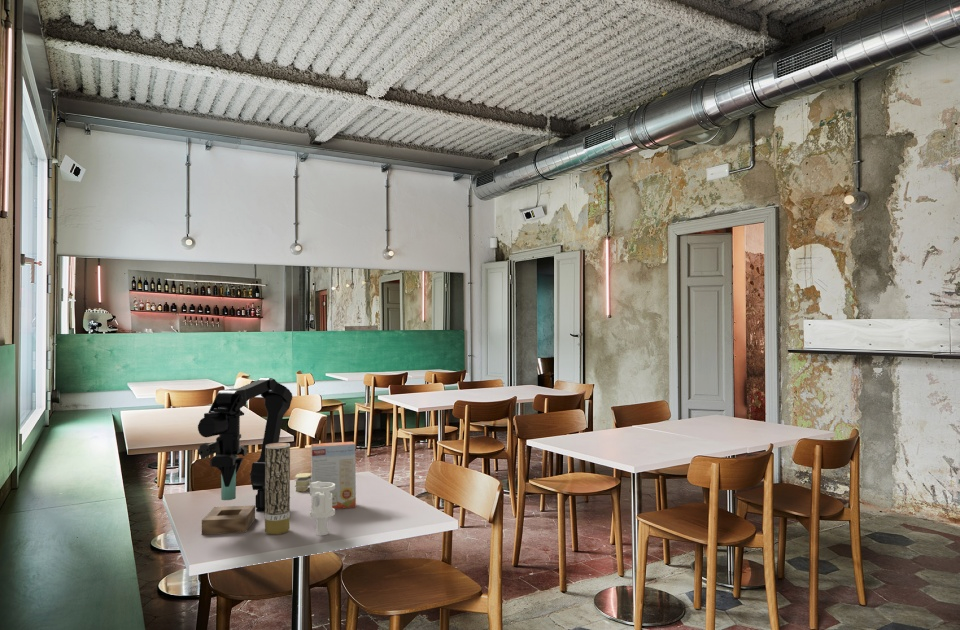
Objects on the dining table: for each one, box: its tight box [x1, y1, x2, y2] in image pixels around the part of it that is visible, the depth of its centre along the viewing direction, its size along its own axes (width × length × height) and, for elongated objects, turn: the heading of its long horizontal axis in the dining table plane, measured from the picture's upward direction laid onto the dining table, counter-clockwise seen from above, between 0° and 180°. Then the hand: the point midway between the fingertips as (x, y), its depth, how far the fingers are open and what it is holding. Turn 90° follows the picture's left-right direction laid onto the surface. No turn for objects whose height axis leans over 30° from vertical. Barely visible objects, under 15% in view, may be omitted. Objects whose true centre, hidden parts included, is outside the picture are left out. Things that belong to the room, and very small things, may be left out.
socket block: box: [201, 504, 256, 535], centre depth 192 cm, size 12×14×4 cm
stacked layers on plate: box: [294, 472, 311, 492], centre depth 237 cm, size 10×9×6 cm
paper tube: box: [264, 442, 291, 536], centre depth 186 cm, size 7×7×25 cm
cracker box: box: [310, 441, 357, 510], centre depth 212 cm, size 14×6×21 cm, turn 108°
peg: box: [220, 469, 237, 501], centre depth 192 cm, size 4×4×10 cm
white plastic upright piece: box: [309, 481, 336, 536], centre depth 184 cm, size 7×7×15 cm
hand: (228, 484), depth 192 cm, fingers closed on peg, 4 cm apart
